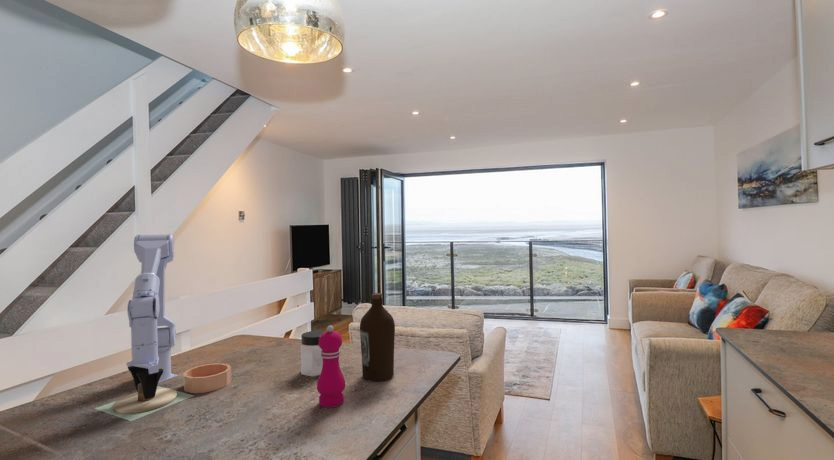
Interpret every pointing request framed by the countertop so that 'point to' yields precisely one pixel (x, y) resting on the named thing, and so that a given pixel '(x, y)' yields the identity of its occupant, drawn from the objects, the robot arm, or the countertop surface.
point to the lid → (144, 401)
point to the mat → (131, 417)
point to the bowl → (207, 378)
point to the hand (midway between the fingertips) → (145, 394)
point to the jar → (311, 354)
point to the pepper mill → (330, 370)
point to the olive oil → (377, 341)
